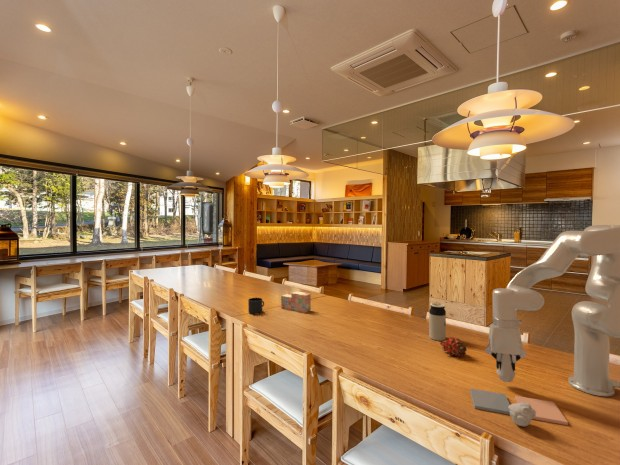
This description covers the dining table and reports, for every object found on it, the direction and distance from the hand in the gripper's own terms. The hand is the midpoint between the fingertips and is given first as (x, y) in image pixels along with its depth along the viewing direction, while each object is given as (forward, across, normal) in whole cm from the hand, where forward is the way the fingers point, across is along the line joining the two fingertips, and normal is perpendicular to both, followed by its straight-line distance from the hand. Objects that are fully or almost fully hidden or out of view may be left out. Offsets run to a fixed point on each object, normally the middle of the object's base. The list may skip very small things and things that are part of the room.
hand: (505, 370), depth 114 cm
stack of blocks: (+4, +114, -68) cm, 132 cm away
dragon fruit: (+6, +16, -24) cm, 29 cm away
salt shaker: (+4, 0, 0) cm, 4 cm away
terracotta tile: (+6, -6, +13) cm, 16 cm away
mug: (+3, +137, -54) cm, 147 cm away
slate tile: (+6, +8, +13) cm, 16 cm away
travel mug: (+6, +22, -43) cm, 48 cm away
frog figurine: (+6, +1, +23) cm, 24 cm away
